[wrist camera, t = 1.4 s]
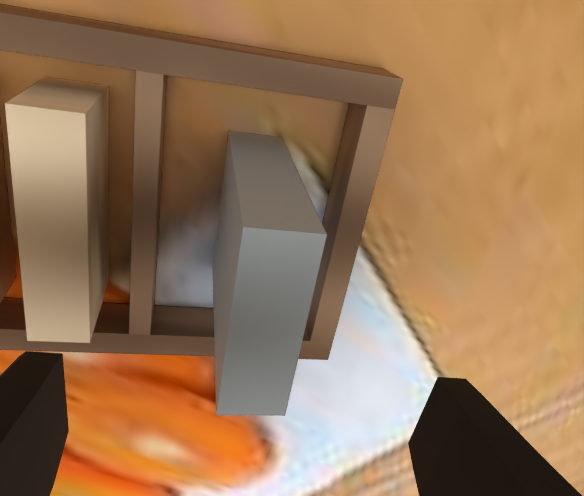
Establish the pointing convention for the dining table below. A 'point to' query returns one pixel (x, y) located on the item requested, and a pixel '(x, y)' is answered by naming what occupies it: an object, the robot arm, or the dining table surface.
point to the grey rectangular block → (261, 275)
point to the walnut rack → (148, 168)
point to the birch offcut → (61, 204)
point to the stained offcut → (5, 231)
